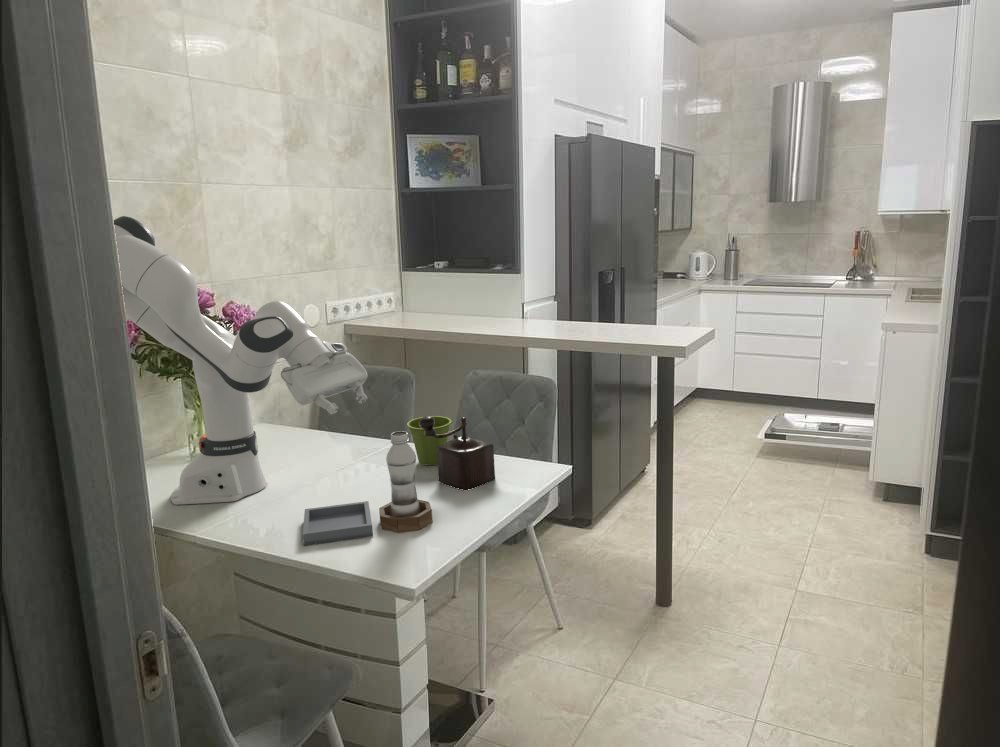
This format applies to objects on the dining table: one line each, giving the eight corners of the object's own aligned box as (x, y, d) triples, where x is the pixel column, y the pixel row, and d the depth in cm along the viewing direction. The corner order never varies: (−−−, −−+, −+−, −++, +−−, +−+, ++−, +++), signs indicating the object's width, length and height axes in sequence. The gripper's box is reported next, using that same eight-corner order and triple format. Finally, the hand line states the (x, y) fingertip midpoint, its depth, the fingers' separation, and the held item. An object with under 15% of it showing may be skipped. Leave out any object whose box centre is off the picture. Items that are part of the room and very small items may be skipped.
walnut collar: (382, 535, 156) (381, 521, 155) (379, 515, 166) (378, 502, 166) (434, 528, 158) (433, 514, 157) (427, 509, 168) (427, 496, 168)
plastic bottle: (392, 529, 158) (385, 439, 154) (390, 517, 165) (382, 431, 160) (422, 525, 160) (416, 436, 155) (419, 513, 166) (412, 427, 162)
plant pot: (401, 464, 200) (397, 424, 198) (430, 452, 209) (428, 414, 207) (433, 472, 193) (430, 430, 191) (462, 459, 202) (460, 419, 200)
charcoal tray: (304, 546, 152) (302, 534, 152) (305, 520, 166) (304, 509, 165) (373, 536, 155) (372, 524, 155) (369, 511, 169) (368, 501, 168)
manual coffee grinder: (466, 470, 193) (462, 403, 189) (496, 479, 185) (492, 409, 182) (420, 487, 182) (414, 417, 179) (450, 498, 175) (445, 424, 171)
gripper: (282, 360, 155) (322, 409, 152) (349, 342, 172) (386, 386, 169) (270, 380, 158) (309, 428, 155) (336, 360, 175) (372, 403, 172)
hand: (350, 406), depth 162 cm, fingers open, 8 cm apart
